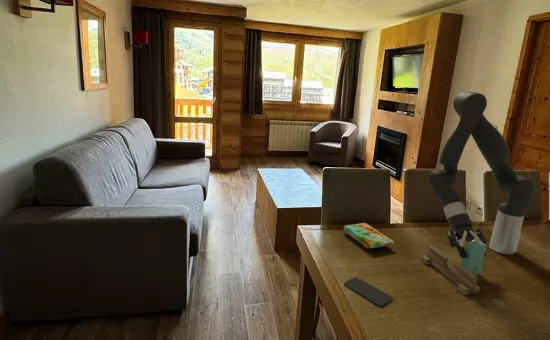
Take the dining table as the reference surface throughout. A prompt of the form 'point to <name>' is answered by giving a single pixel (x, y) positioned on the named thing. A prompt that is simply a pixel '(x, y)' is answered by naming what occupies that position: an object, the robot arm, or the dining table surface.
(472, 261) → the slotted tab
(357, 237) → the puzzle game
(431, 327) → the dining table surface
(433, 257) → the slotted rail
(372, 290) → the phone
